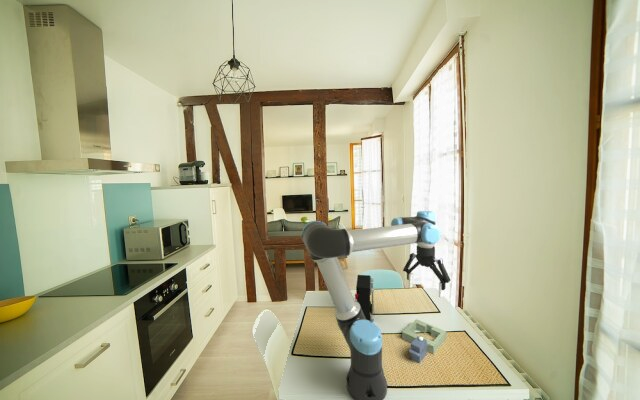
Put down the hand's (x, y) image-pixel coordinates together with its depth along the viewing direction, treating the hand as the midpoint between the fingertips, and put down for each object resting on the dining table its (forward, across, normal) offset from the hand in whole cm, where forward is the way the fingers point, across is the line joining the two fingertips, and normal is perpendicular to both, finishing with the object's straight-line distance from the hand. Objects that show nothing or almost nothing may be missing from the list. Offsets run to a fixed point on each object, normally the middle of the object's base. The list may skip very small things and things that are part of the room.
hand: (425, 291), depth 110 cm
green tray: (+27, +3, -6) cm, 28 cm away
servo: (+27, -1, +7) cm, 28 cm away
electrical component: (+27, +36, -4) cm, 46 cm away
